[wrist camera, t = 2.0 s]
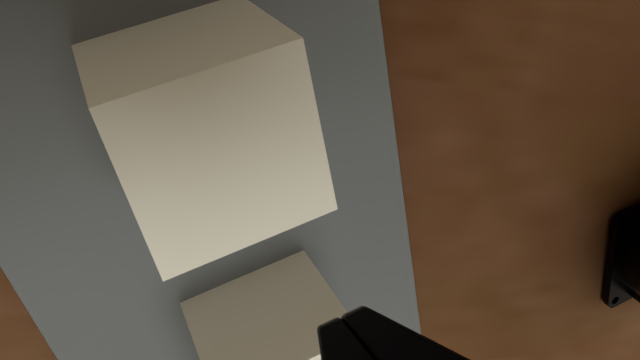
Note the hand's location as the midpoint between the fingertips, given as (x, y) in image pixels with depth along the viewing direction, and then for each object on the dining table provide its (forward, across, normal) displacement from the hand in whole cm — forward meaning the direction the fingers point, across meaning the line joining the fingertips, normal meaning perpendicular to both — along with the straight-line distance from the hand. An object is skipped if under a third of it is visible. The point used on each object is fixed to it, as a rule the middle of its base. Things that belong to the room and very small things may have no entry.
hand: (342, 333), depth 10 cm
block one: (+11, 0, +10) cm, 15 cm away
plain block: (+11, 0, 0) cm, 11 cm away
